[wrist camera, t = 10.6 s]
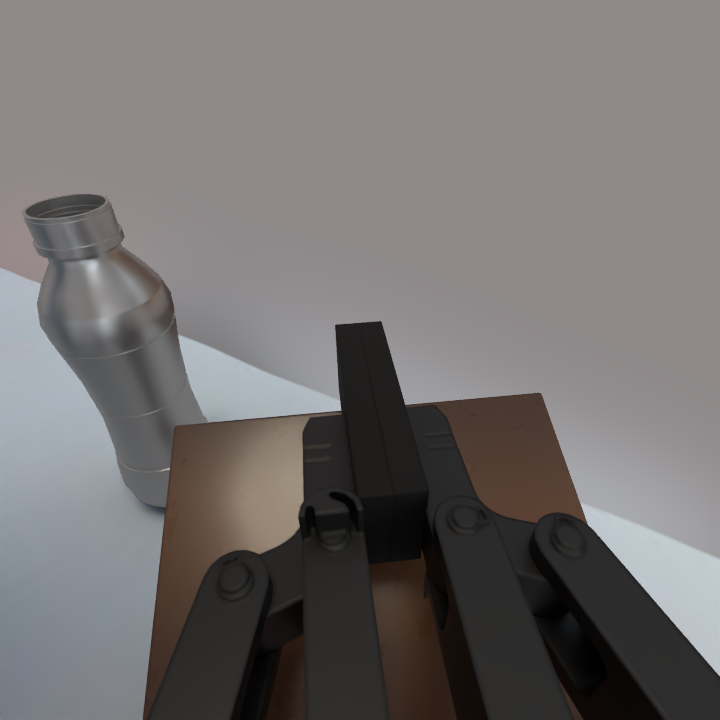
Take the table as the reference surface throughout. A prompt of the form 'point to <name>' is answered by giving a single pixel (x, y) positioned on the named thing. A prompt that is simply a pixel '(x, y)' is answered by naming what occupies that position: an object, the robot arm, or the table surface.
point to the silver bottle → (114, 334)
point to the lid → (280, 522)
